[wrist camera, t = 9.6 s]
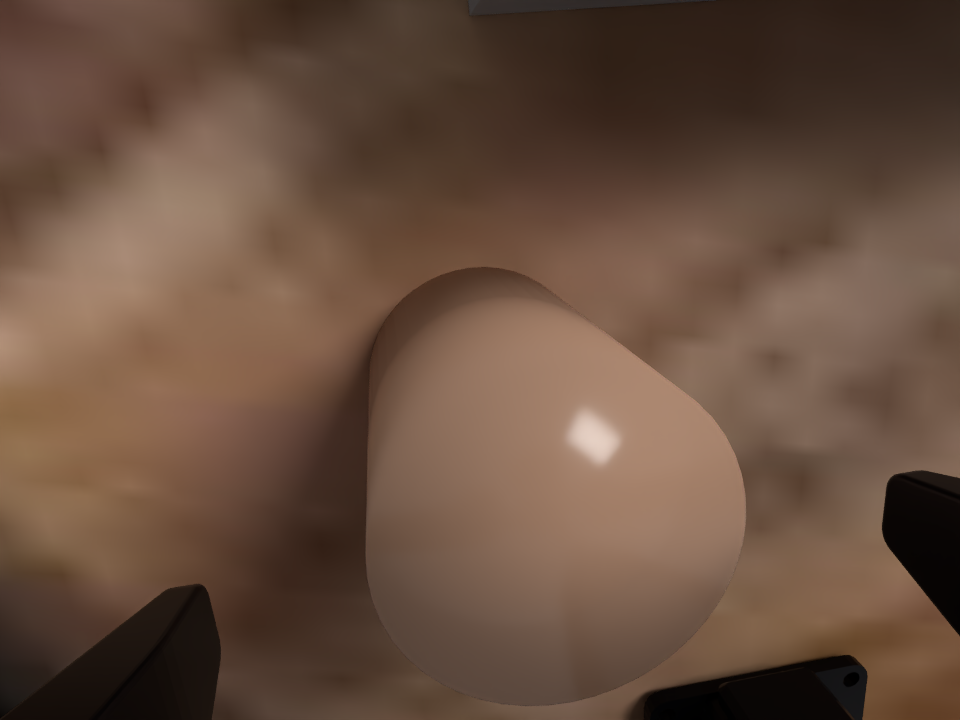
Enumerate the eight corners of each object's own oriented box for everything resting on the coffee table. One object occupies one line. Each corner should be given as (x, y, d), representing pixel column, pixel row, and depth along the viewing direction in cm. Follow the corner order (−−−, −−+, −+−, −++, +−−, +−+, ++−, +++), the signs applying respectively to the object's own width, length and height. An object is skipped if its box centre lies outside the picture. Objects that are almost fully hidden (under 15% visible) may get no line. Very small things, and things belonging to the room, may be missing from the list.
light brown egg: (589, 459, 16) (739, 669, 10) (384, 490, 16) (392, 737, 9) (582, 255, 15) (754, 336, 8) (354, 280, 14) (337, 391, 7)
